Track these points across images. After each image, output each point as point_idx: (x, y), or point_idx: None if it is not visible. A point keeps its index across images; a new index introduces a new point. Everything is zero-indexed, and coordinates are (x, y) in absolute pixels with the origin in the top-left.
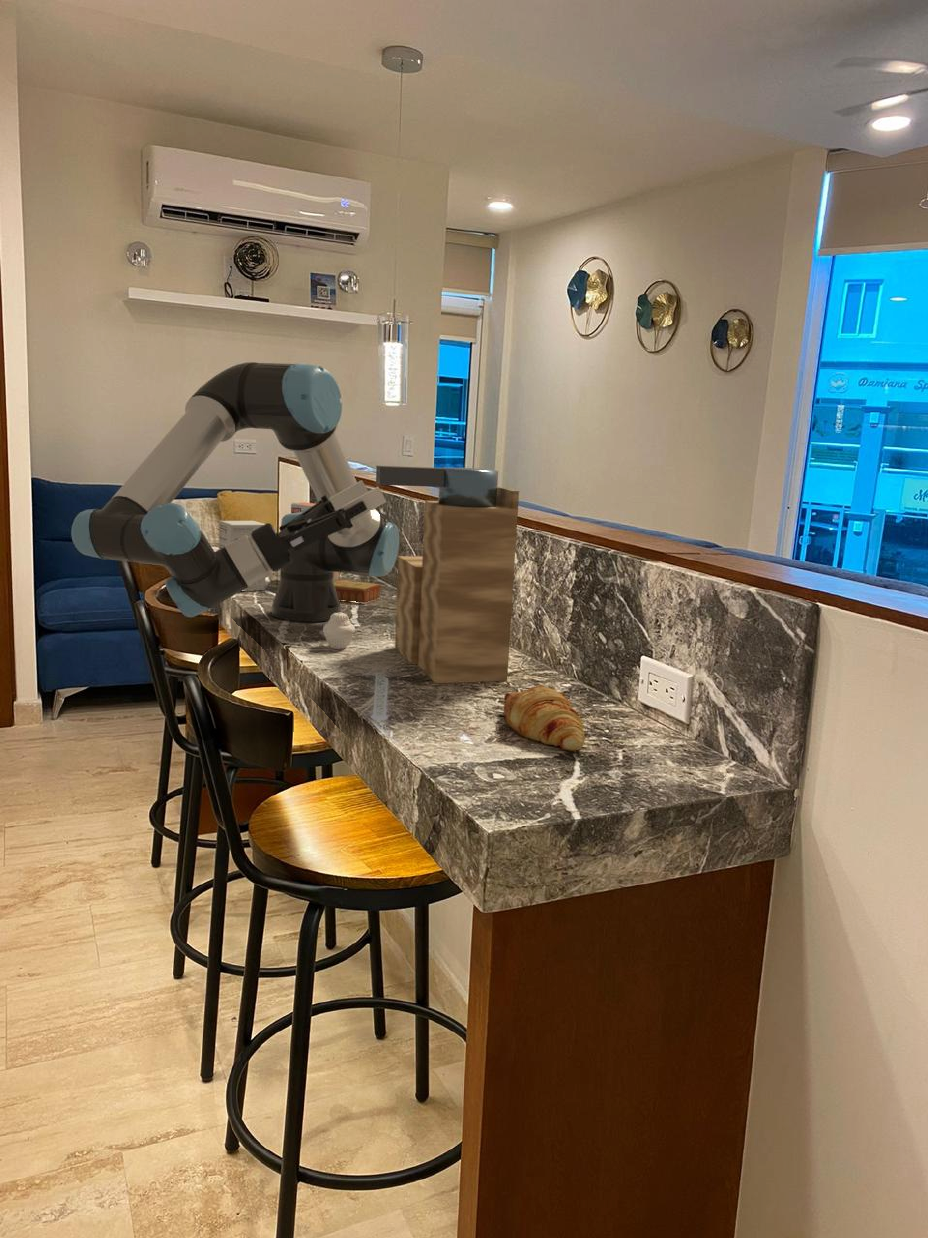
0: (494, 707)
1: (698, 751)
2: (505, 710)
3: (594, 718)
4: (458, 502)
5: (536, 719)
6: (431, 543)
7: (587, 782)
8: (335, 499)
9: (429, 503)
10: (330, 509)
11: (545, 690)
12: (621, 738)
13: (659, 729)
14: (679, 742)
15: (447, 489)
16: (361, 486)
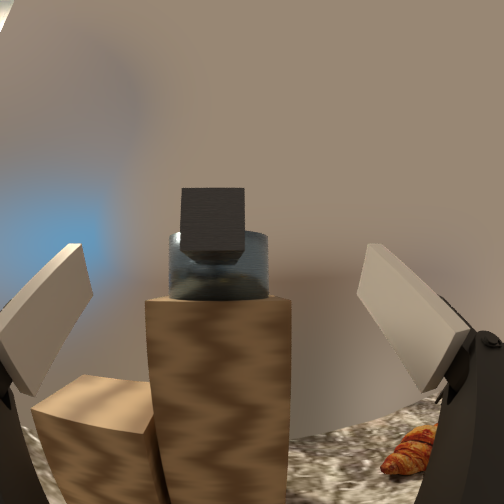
0: (372, 488)
1: (416, 406)
2: (420, 466)
3: (375, 439)
4: (262, 291)
5: None
6: (213, 382)
7: None
8: (19, 334)
9: (180, 304)
10: (1, 388)
11: (431, 427)
12: (413, 427)
13: (384, 417)
14: (405, 411)
15: (245, 269)
16: (79, 266)
